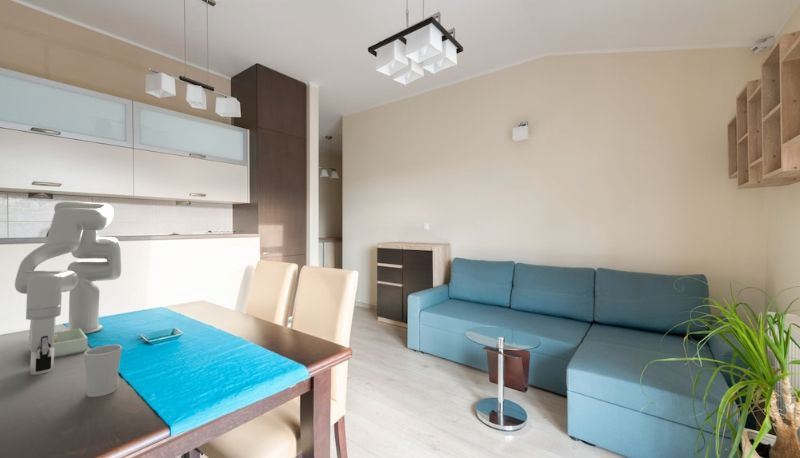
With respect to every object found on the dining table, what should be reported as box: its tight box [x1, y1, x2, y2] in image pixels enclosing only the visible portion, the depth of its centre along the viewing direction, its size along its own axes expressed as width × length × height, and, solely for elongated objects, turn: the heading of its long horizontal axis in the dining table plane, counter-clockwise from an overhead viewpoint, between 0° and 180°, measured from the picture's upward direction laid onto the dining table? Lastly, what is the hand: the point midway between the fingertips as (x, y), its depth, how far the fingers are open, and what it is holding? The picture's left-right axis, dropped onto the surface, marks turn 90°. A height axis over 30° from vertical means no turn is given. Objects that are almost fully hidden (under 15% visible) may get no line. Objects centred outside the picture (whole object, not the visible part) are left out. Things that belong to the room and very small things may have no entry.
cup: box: [83, 344, 123, 398], centre depth 92 cm, size 8×8×12 cm
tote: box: [53, 328, 89, 359], centre depth 120 cm, size 17×13×5 cm
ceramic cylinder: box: [29, 347, 55, 376], centre depth 103 cm, size 5×5×7 cm
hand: (41, 365), depth 103 cm, fingers open, 8 cm apart
